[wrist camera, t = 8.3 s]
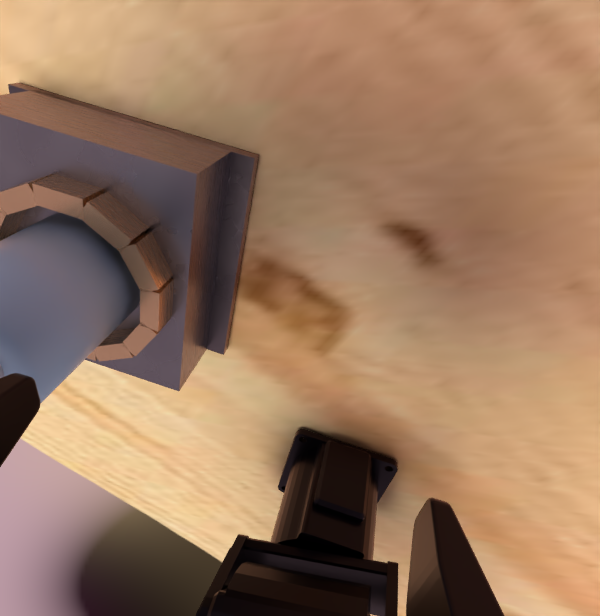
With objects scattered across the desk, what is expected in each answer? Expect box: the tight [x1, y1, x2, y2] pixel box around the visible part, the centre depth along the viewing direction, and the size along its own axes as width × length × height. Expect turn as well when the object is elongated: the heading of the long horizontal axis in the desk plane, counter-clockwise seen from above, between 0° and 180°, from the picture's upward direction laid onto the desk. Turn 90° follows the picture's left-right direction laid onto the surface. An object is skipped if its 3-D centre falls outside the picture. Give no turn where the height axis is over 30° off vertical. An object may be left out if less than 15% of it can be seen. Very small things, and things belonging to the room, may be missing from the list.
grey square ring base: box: [0, 83, 259, 391], centre depth 19 cm, size 11×11×5 cm
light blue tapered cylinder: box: [0, 213, 140, 403], centre depth 15 cm, size 5×5×7 cm
